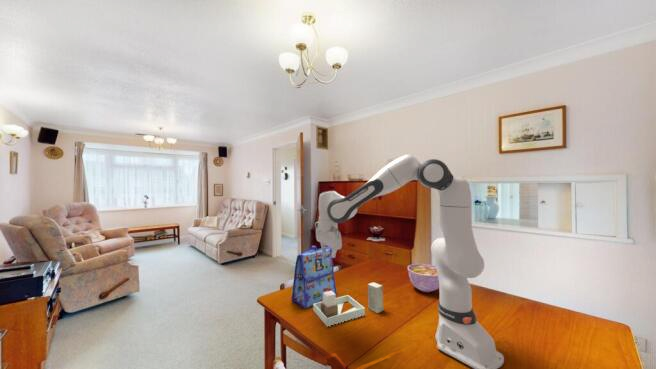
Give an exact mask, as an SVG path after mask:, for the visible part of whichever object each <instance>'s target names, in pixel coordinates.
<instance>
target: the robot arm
mask: <svg viewBox="0 0 656 369" xmlns="http://www.w3.org/2000/svg"><path fill="white" fill-rule="evenodd" d="M414 180H415V181H418V182H419V183H420V184H421V185H423V186H424V187H426V188H428V189H434V190H437V192H438V194H439V220H438V222H439V224H438V225H439V227H440V229H441V232H442V235H443V237H438V238H436V239H435V240H433V242H432V243H431V247H430V251H431V253H432V255H433V256H432V257H433V259H434V264H435V266H436V269H437V274H438V279H439V288H438V289H439V290H438V292H439V300H438V302H437V303H438V305H437V308H438V309H437V310H438V311H437V312H438V316H439V317H438V322H437V323H438V324H437V329H436V333H435V336H434V337H435V338H434V339H435V341H436V342H437V345H436V347H437V349H439V350H440V351H441V352H443V353H445V354H447V355H449V356H451V357H453V358H455V359H456V360H458V361H460V362H462V363H463V364H466V365H467V366H468V367H471V368H472V369H499V368H501V367H502V366H503V365H504V362H505V357H504V354H502V353H501V352H499V351H498V350H497V348H496V344H495V341H494V338H493V337H492V336H491V335H490V334H489V333H488V332H487V331H486V329H485V328H484V327H483V326H482V324H480V322H478V320H477V318H479V315H480V313H475V311H474V308H473V306H472V286H471V284H470V282H469V280H468V279H474V278H477V277H479V276H480V275H481V274H482V273H483V272H484V269H485V261H484V258H483V256H482V255H481V253H480V252H479V250H478V246H477V243H476V239H475V236H474V231H473V225H472V224H473V223H472V222H473V219H472V218H473V217H472V216H473V215H472V213H473V212H472V210H473V209H472V208H473V207H472V205H473V204H472V203H473V202H472V193H471V187H470V183H469V182H468V181H467V179H465V178H463V177H458V176H454V175H453V174H452V172H451V170H450V169H449V167H448V166H447V164H445V162H444V161H442V160H440V159H437V158H436V159H435V158H431V159H428V160H426V161H424V162H420V161H419V160H418V159H417V158H416V157H415V156H414V155H412V154H408V153H407V154H403V155H402V156H400V157H398V158H395V159H393V160H392V161H391V162H389V163H387V164H386V165H385V166H383V167H382V168H380V169H379V170H378V171H377V172H376V173H375V174H374V175H373V176H372V177H371V178H370V179H369V180H368V181H367V182H366V183H364V184H363V185H362V186H360V187H358V188H357V189H356V190H354V191H353V192H350V193H349V194H348V195H347V196H344V195H341V194H340V193H338V192H337V191H335V190H327V191H323V192H321V193H320V194H319V197H318V212H319V213H318V214H319V216H318V220H317V221H316V222H315V223H314V227H315V239H316V241H317V242H318V243H320V246H321V248H322V252H323V253H325V252H326V247H330V248H331V250H332V253H331V257H332V259H334V258H336V257H337V256H336V254H337V252H338V250H341V249H342V248H343V243H342V242H343V240H342V234H341V232H340V231H339V229H338V224H344V222H346V221H348V220H349V219H351V218H353V217H355V215H357V213H358V210H359V207H361V206H362V205H364V204H365V203H367V202H369V201H370V200H372V199H374V198H377V197H381V196H384V195H388V194H391V193H393V192H395V191H396V190H399V189H400V188H401V187H403V186H404V185H407V184H408V183H409V182H411V181H414ZM321 248H320V249H321Z"/></svg>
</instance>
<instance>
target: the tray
mask: <svg viewBox="0 0 656 369" xmlns="http://www.w3.org/2000/svg"><path fill="white" fill-rule="evenodd" d="M322 302H323V301H322ZM322 302H318V303H314V304H313V306H312V311H313V312H314V314H316V315H317V317H318V318H319V320H321V321H322V322H323V325H324V324H325V325H326V326H327V327H326V326H325V325H324V326H325V327H326V328H328V326H329V327H332V326H331V325H333V326H335V325H334V324H336V325H339V324H341V322H342V323H345V322H344V321H346V322H348V320H349V321H352V320H355V319H358V317H359V318H361V316H362V317H365V316H366V314H365V313H366V308H365V306H363V305H362V304H360V303H359V302H358V301H357V300H355V299H354V298H353V297H351V296H350V295H348V294H346V295H343V296H339V297H336V304H337V305H338V315H336V316H332V317H329V318H327V317H326V316H325V315H324V314H323V313H322V312H321V303H322ZM347 302H348V303H349V304H350V305H352V306H353V307H351V308H349V309H348V310H346V311H344V312H342V310H343V306H344V303H347ZM354 318H355V319H354ZM351 319H352V320H351ZM338 323H339V324H338Z"/></svg>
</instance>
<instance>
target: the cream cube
mask: <svg viewBox="0 0 656 369" xmlns="http://www.w3.org/2000/svg"><path fill="white" fill-rule="evenodd" d="M336 296H337V295H336V294H335V293H334V292H332V291H327V292H323V304H324V305H325V306H326V307H330V306H334V305H336V298H337V297H336Z"/></svg>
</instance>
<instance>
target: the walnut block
mask: <svg viewBox="0 0 656 369" xmlns="http://www.w3.org/2000/svg"><path fill="white" fill-rule="evenodd" d="M321 312H322V313H323V314H324V315H325V316H326V317H327V318H329V317H332V316H336V315H338V305H337V304H336V305H334V306H330V307H326V306H325V305H324V304H323V302H322V303H321Z"/></svg>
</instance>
